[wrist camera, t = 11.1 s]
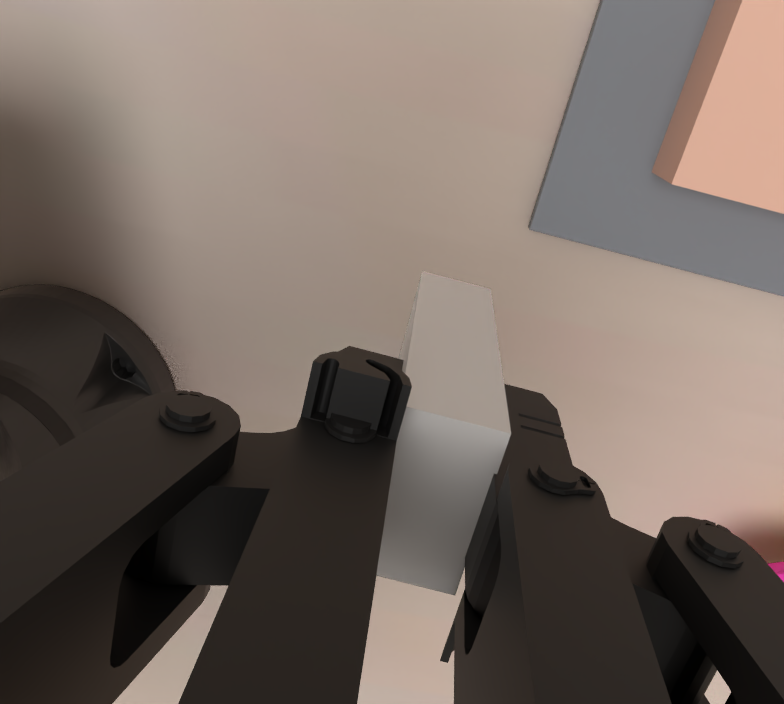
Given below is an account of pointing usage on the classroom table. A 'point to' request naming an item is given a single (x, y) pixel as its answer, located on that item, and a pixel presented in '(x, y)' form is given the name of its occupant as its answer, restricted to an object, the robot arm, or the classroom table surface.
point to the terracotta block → (732, 109)
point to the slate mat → (647, 156)
